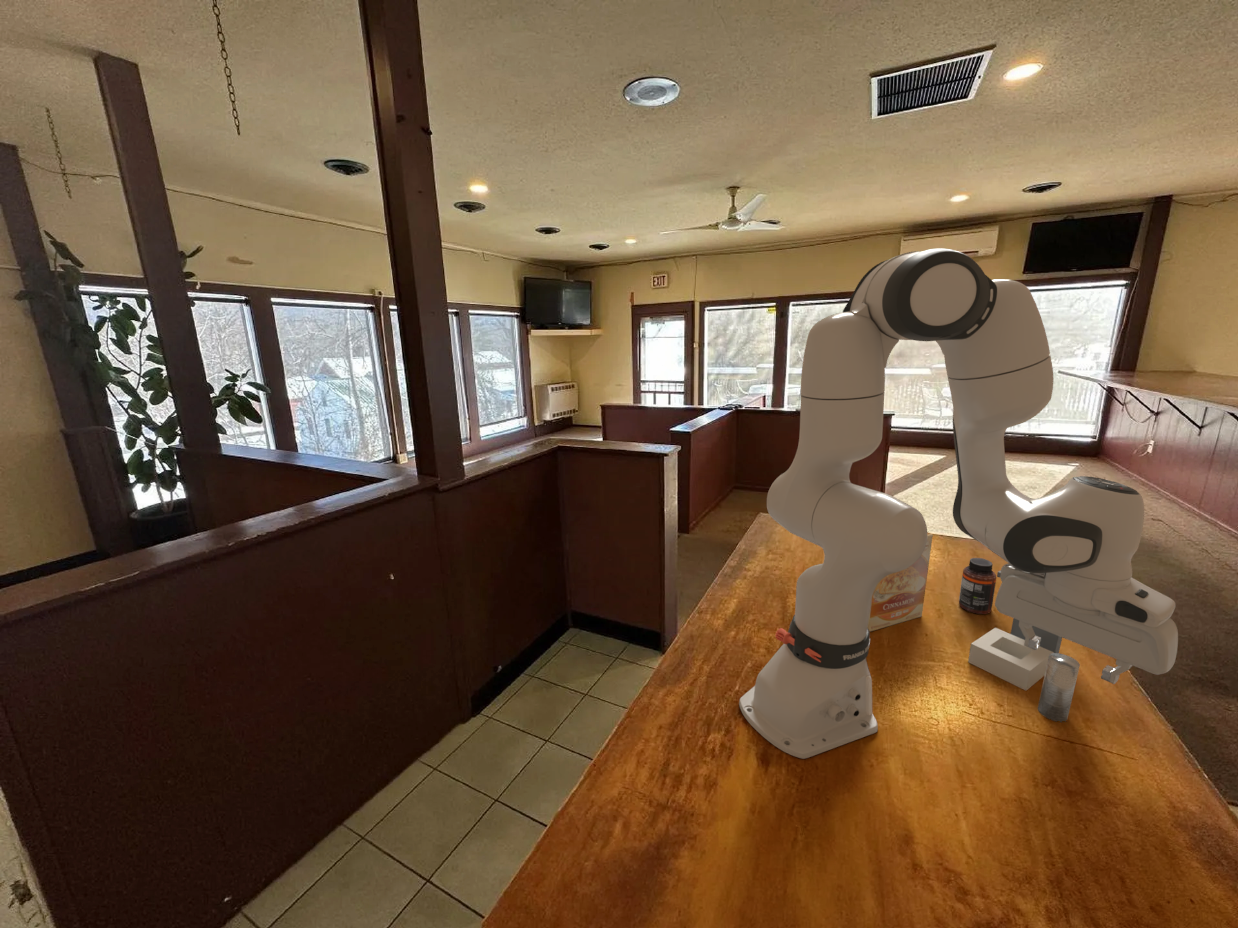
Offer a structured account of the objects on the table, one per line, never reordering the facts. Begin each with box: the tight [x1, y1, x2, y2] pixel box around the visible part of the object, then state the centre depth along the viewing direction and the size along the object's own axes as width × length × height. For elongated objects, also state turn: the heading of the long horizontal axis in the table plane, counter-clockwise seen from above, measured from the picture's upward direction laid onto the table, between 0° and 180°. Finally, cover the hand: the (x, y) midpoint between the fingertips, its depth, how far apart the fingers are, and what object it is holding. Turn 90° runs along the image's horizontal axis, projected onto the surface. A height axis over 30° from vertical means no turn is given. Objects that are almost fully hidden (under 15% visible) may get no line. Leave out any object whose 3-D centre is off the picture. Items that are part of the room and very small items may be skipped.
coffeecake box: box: [868, 531, 934, 633], centre depth 104 cm, size 15×7×20 cm, turn 108°
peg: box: [1037, 652, 1081, 723], centre depth 77 cm, size 4×4×10 cm
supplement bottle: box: [958, 557, 997, 615], centre depth 106 cm, size 6×6×11 cm
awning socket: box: [967, 570, 1063, 691], centre depth 89 cm, size 16×12×15 cm
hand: (1068, 662), depth 75 cm, fingers open, 8 cm apart
